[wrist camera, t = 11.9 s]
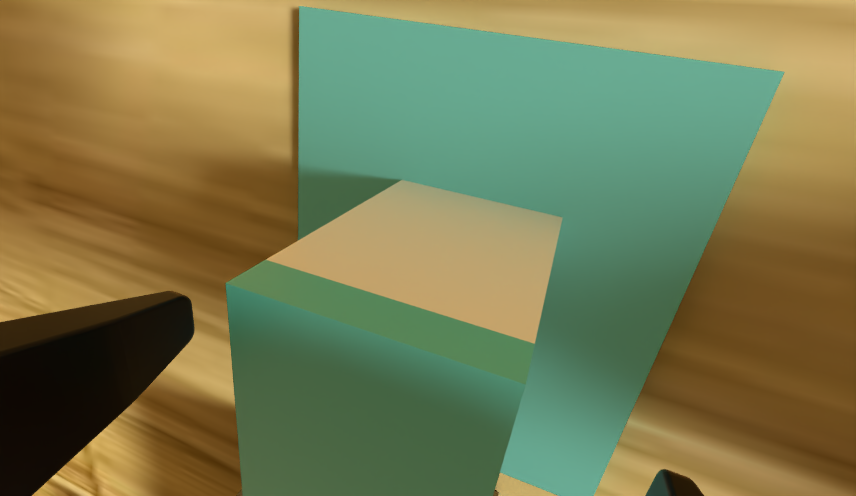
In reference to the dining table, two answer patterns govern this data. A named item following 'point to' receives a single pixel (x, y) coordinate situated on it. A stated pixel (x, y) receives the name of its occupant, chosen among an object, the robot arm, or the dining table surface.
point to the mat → (541, 188)
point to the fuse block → (389, 347)
